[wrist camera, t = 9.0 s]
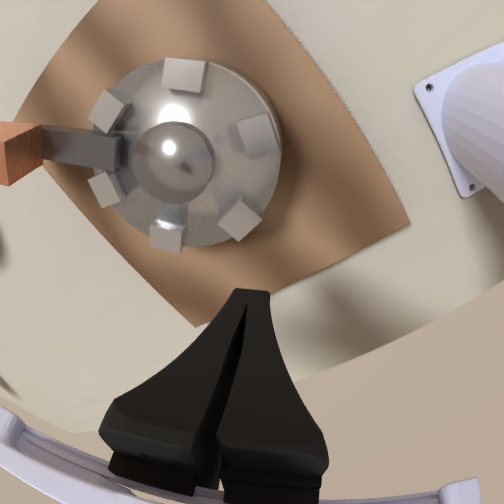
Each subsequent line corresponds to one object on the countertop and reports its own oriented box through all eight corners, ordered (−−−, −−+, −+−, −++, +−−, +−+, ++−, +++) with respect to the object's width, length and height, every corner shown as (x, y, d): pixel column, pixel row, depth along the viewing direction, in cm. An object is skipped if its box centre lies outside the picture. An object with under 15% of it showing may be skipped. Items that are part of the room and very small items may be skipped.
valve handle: (302, 77, 14) (304, 87, 9) (260, 241, 20) (244, 314, 15) (34, 54, 14) (-39, 72, 9) (37, 188, 20) (-19, 231, 15)
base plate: (192, -68, 11) (183, -77, 10) (404, 212, 19) (411, 224, 18) (22, 122, 19) (8, 128, 18) (197, 316, 27) (192, 330, 26)
